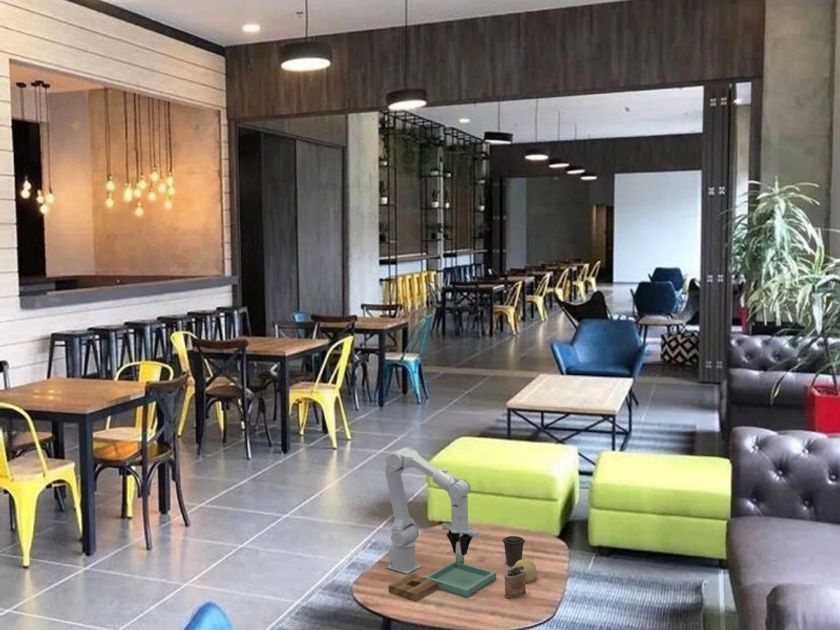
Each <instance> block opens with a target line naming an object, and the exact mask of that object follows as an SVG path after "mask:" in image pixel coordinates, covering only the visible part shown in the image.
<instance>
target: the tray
mask: <svg viewBox="0 0 840 630" xmlns="http://www.w3.org/2000/svg"><path fill="white" fill-rule="evenodd" d="M423 577H424V578H427V579H430V580H434V581H437V582H438V589H437V590H441V591H444V592H447V593H450V594H453V595H457V596H460V597H463V598H466V599H467V598H469V597H471V596H473V595H474V594H476V593H478V592H479V591H480V590H482V589H484V588H485V587H487V586H488V584H489V585H490V584H491V582H492V583H494V580H495V581H496V580H497V572H496V571H492V570H489V569H486V568H483V567H478V566H475V565H471V564H467V563H465V562H464V564H463V565H458V564H456V560H453V561H451V562H450V563H447V564H446V565H444V566H442V567H440V568H439V569H437V570H434V571H433V572H431V573H429V574H428V575H426V576H423Z"/></svg>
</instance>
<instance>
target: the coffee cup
mask: <svg viewBox="0 0 840 630" xmlns="http://www.w3.org/2000/svg"><path fill="white" fill-rule="evenodd" d="M525 542H526V541H525V539H524V538H523V537H522V536H517V535H516V536H515V535H509V536H506V537H504V538H503V539H502V543H503V545H504V555H505V561H506V562H505V563H506V566H507V565H508V567H509V566H511V567H512V566H514V565H515V563H516V562H517V561H519V560H522V559H523V551H524V544H525ZM511 567H510V568H511Z"/></svg>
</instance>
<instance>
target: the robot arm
mask: <svg viewBox="0 0 840 630" xmlns="http://www.w3.org/2000/svg"><path fill="white" fill-rule="evenodd" d="M385 462H386V463H385V464H386V466H385V472H384V473H385V478H386V482H387V487H388V494H389V497H390V503H391V507H392V513H393V517H394V521H393V522H392V525H391V527H390V528H391V535H390V540H391V542H392V543H391V544H390V545H389V546H388V547H389V548H388V566H387V569H389V570H393V571H396V572H399V573H403V574H406V575H409V574H411V573H412V572H414V571H416V570H417V569H419V568H421V565H420V564H416V542H417V541H416V539H418V537H419V528H418V527H417V525H416V522H415V519H414V518H412V517H411V516H410V511H409V509H408V503H407V497H406V491H405V487H404V482H403V476H402V474H403V472H404V471H405V470H406V469H411V468H415V469H417V470H418V471H420V472H422V473H423V474H425V475H427V476H429V477H430V478H431V479H432V482H433V483H434V484H435V485H436V486H438V487H440V489H443V490H444V491H445V492H447V494H448V497H449V499H450V507H451V509H450V511H451V512H450V513H451V518H450V519H451V523H448V522H444V523H441V531H448V532H447V533H446V537H447V538H448V541H449V543H450V546H451V547H452V552H453V553H454V554H456V549H455V540H457V539H460V542H461V553H462V555H463V556H464V557H465V556H466V555H467V554H468V551H469V547H470V543H471V541H472V540H473V539H477V538H479V537H480V532H479V530H476V529H473V528H471V527H470V526H469V503H468V500H469V499H468V498H469V496H468V495H469V494H470V493H471V490H472V488H471V487H472V486H471V485H470V483H469V481H467V479H464V478H458V477H457V476H454V475H453V474H451V473H450V472H448V469H446V468H439V469H438V468H436V467H435V466H434V465H432V464H431V463H430V462H428V461H427V460H426V459H425V458H423V457H422V456H420V455H419V453H418V451H417V450H416V449H414V448H412V447H411V446H404V447H403V448H401V449H397V450H395V451H392V452H390V453H389V454H388V455H387V456H386V458H385Z"/></svg>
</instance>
